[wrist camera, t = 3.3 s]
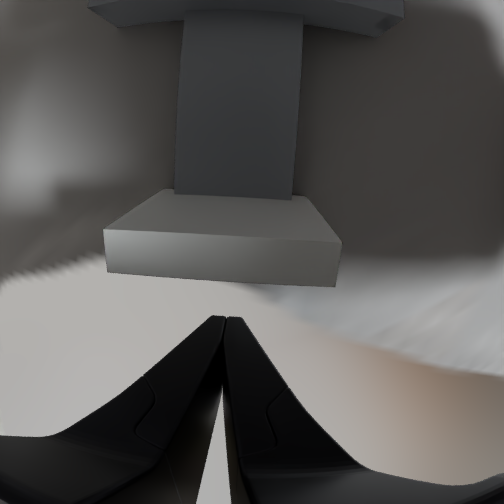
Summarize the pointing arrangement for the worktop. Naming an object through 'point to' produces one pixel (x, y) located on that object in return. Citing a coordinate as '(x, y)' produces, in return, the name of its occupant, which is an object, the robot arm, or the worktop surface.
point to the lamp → (236, 144)
